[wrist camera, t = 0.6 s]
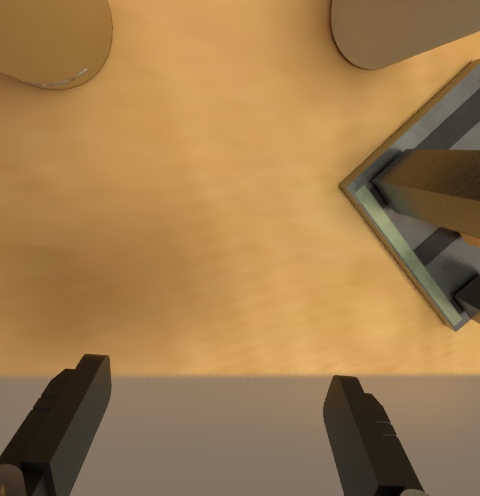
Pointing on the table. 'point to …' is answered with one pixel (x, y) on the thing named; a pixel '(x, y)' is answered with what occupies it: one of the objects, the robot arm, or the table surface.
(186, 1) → the table surface
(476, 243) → the handle
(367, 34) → the travel mug
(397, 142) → the panel
